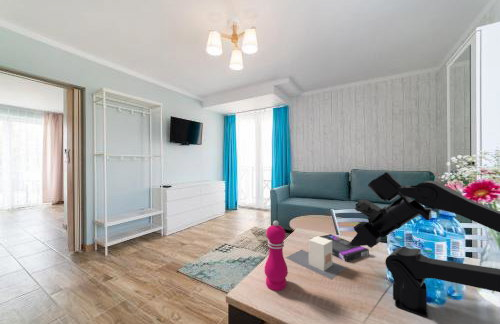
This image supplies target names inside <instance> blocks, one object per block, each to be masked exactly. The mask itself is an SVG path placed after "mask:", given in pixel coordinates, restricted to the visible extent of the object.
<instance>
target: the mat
mask: <svg viewBox="0 0 500 324" xmlns="http://www.w3.org/2000/svg"><path fill="white" fill-rule="evenodd" d="M285 259H287V260H289V261H291V262H293V263H296V264H298V265H300V266H302V267H303V268H306V269H308V270H310V271H312V272H315V273H317V274H319V275H321V276H324V278H325V277H326V278H328V279H329V280H333V279H334V278H335V277H337V276H338V275H339V274H341V273H342V272H343V271H344V270H345V269H347V266H345V265H341V264H339V263H337V262H334V261H332V266H330V267H329V268H328V269H326V270H325V271H322V270H320V269H318V268H316V267H314V266H311V265H309V251H306V250H304V249H300V250H298V251H296V252H294V253H292V254H290V255H287V256H285Z"/></svg>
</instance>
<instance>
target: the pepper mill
mask: <svg viewBox="0 0 500 324" xmlns="http://www.w3.org/2000/svg"><path fill="white" fill-rule="evenodd" d="M279 224H280V223H279V221H278V220H274V221H273V222H272V225H270V226H268V227H267V228H266V232H265V233H266V235H265V236H266V238H267V239H268V240H267V246H268V248H269V249H268V253H269V254H268V257H267V259H266V262H265V264H264V274H265V276H266V277H265V285H266V287H267V288H268V289H270V290H272V291H275V292H276V291H278V292H279V291H283V290H285V289H286V286H287V277H288V273H289V271H288V270H289V269H288V266H287V263H286V260H285V256H284V252H283V249H284V247H285V241H284V240H285V239H286V237H287V236H286V229H284V227H282V226H281V225H279Z"/></svg>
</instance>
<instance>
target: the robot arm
mask: <svg viewBox="0 0 500 324" xmlns="http://www.w3.org/2000/svg"><path fill="white" fill-rule="evenodd" d="M367 188H368V189H370V190H371V191H372V192H373V193H374V194H375V195H376V196H377V197H378V198H379V199H380V200H381V201H382V202H386V201H387V202H389V203H390V202H391V201H393V200H395V199H396V198H397V197H399V198H397V199H396V200H395V201H393V202H391V203H390V204H389V205H387V206H384V207H383V208H382V207H380V206H378V205H376V204H374V203H373V202H371V201H369V200H367V199H365V198H362V199H359V200H358V202H356V203H355V205H354V206H355V207H354V210H355V211H356V212H359V213H361V214H363V215H364V216H366V217H367V221H361V222H359V223H357V224H356V225H355V226H353V230H354V232H356V235H355V236H354V237H353V238H352V239H351V241H349V242H350V244H351V246H362V247H364V246H367V247H369V248H373V247H375V246H377V245H378V244H379V243H380V242H381V239H382V238H386V237H387V236H388V235H390V234H391V233H393V232H395V231H396V230H399V229H400V228H402V227H403V226H404V225H406V224H407V223H409V222H411V221H413V220H414V219H416V218H417V217H419V216H421V217H422V218H423V219H424V220H426V221H429V220H431V219H432V211H433V209H434V210H435V209H436V210H439V211H442V212H448V213H451V214H455V215H459V216H461V217H462V218H463V217H464V218H466V219H468V220H470V221H472V222H475V223H477V224H480V225H481V226H484V227H486V228H489V229H491V230H493V231H495V232H498V233H500V210H497V209H495V208H492V207H491V206H490V207H489V206H487V205H484V204H482V203H480V202H477V201H474V200H472V199H469V198H468V197H466V196H464V195H462V194H461V193H459V192H458V191H456V190H454V189H452V188H451V187H448V186H446V185H445V184H443V183H441V182H438V181H435V180H426V181H423V182H420V183H418V184H416V185H415V184H414V185H412V184H411V185H410V184H407V185H403V184H402V183H401V182H400V181H399V180H397V179H396V178H395V177H394V176H393V175H392V173H390V172H389V171H385V172H384V173H383V174H381V175H379V176H377V178H374V179H373V180H371V181H370V182H369V183H368V184H367ZM421 252H422V250H421V249H420V248H409V247H406V246H402V247H401V248H396V249H395V250H393V251H392V252H391V253H390V254H389V255H388V256H386V257H385V261H384V262H385V263H384V264H385V266H386V269H387V270H388V271H389V273H390V274H391V276H392V278H393V281H392V299H393V300H394V306H395V307H397V308H400V309H401V310H405V311H407V312H411V313H414V314H416V315H419V316H422V317H425V318H429V313H428V307H427V306H428V301H427V300H428V299H427V296H428V294H427V293H428V290H427V285H426V282H425V281H426V279H435V280H439V281H443V282H444V281H445V282H449V283H454V284H457V285H458V284H459V285H462V286H463V285H464V286H468V287H473V288H478V289H481V290H482V289H483V290H487V291H492V292H497V293H500V268H496V267H489V266H483V265H482V266H481V265H477V264H476V265H475V264H471V263H470V264H469V263H463V262H457V261H450V260H443V259H437V258H431V257H428V256H426V255H423V254H422V253H421Z"/></svg>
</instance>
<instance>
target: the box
mask: <svg viewBox="0 0 500 324" xmlns="http://www.w3.org/2000/svg"><path fill="white" fill-rule="evenodd" d="M319 237H322V238H325V239H328V240H332V256H334V257H336V258H338V259H339V260H342V261H344V262H345V263H348V262H350V261H353V260H356V259H359V258H362V257H368V256H369V255H370V250H369V248H367V247H364V246H351V244H350V242H351V241H349V240H347V239H344V238H342V237H339V236H337V235H334V234H332V233H330V234H326V235H320V236H319ZM312 238H313V237H312ZM312 238H309V240H310V239H312Z"/></svg>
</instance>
